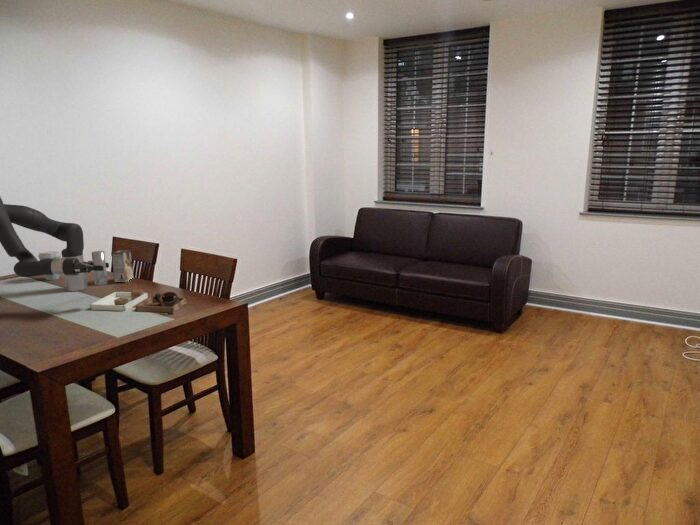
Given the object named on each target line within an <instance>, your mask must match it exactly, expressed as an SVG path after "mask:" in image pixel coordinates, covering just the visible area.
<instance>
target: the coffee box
mask: <svg viewBox="0 0 700 525" xmlns="http://www.w3.org/2000/svg"><path fill="white" fill-rule="evenodd" d="M111 261H112V270H113V271H112V272H113V278H114V279H113V280H114V283H115V282H127V281H128V282H130V281H131V280H130V279H132V278H133V279H135V276H134V271H133V270H134V269H133V259H132V250H131V249H119V250H116V251H114V252H111ZM133 279H132V280H133ZM129 280H130V281H129ZM128 282H127V283H128Z"/></svg>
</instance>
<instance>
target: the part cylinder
mask: <svg viewBox="0 0 700 525" xmlns="http://www.w3.org/2000/svg"><path fill="white" fill-rule="evenodd" d="M105 253H106V252H105V250H97V251H91V259H92V260H91V261H93V265H96V266H98V265H102V266H103V268H104V270H103V271H93V278H94V285H96V286H99V285H100V286H101V285H102V286H103V285H107V284H108V282H109V281H108V273H107V268H106V263H107V262H106V254H105Z"/></svg>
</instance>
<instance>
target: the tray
mask: <svg viewBox="0 0 700 525" xmlns="http://www.w3.org/2000/svg"><path fill="white" fill-rule="evenodd" d="M131 292H132V291H129V292H128V291H127V292H126V291H114V292H112V293H109V294H108V295H106V296H104V297H102V298H100V299H98V300H95V301H94V302H92V303H90V304H89V310H94V311H96V310H97V311H116V312H117V311H118V312H119V311H120V312H125V311H127V310H130V309H131V308H132V307H134V306H137V305H139V304H141V303H142V302H144V301H146V300H147V299H149V296H148V295H149V294H148V292H143V295H141V296H140V297H138V298H136V299H134V300H132V298H131ZM119 298H128V300H129V303H127V304H125V305H115V303H114V300H116V299H119Z"/></svg>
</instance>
